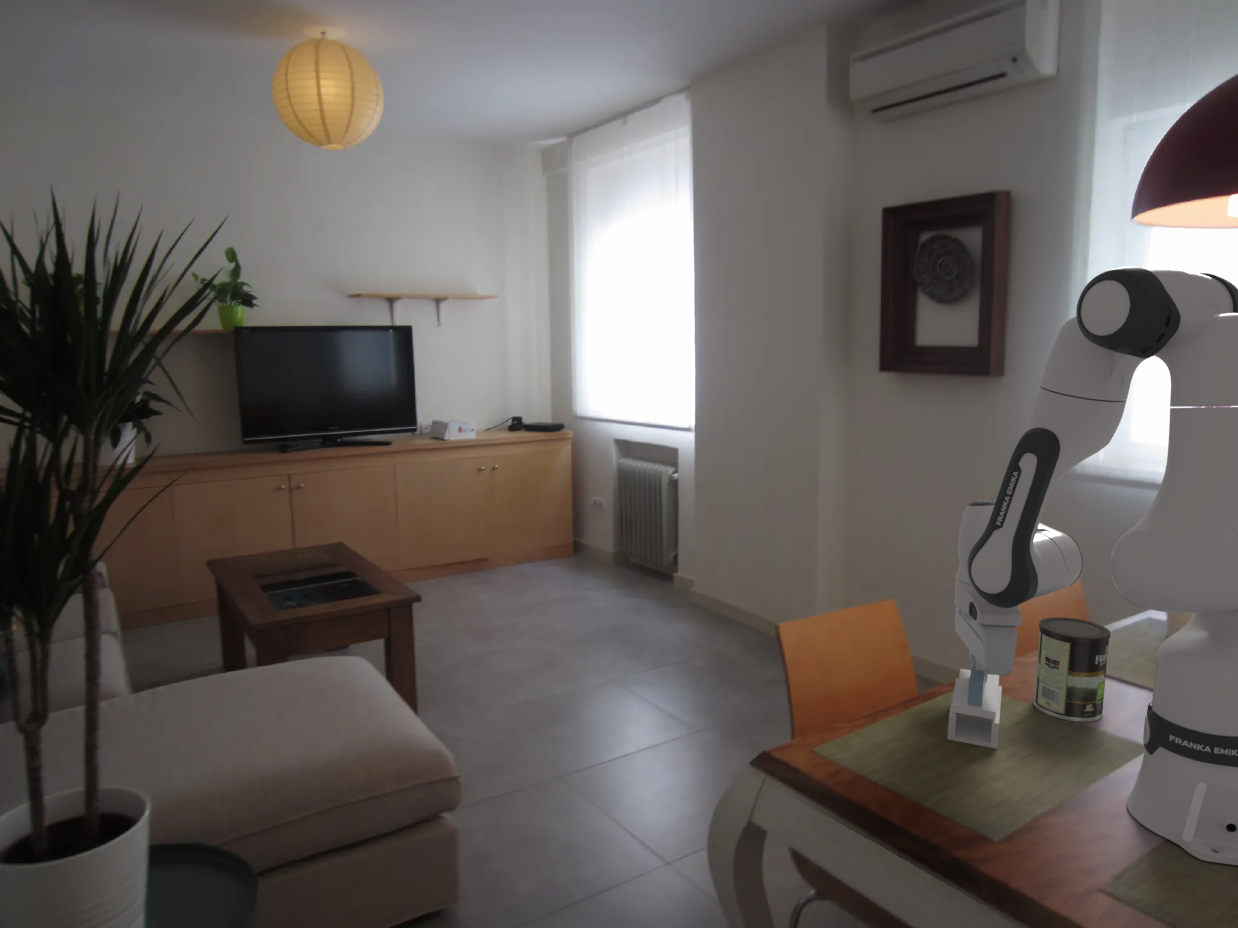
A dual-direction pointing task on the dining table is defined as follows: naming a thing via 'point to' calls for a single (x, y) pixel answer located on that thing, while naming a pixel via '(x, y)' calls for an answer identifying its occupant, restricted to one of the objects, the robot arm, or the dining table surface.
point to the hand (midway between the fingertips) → (978, 679)
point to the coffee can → (1071, 669)
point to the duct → (974, 726)
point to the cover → (976, 694)
